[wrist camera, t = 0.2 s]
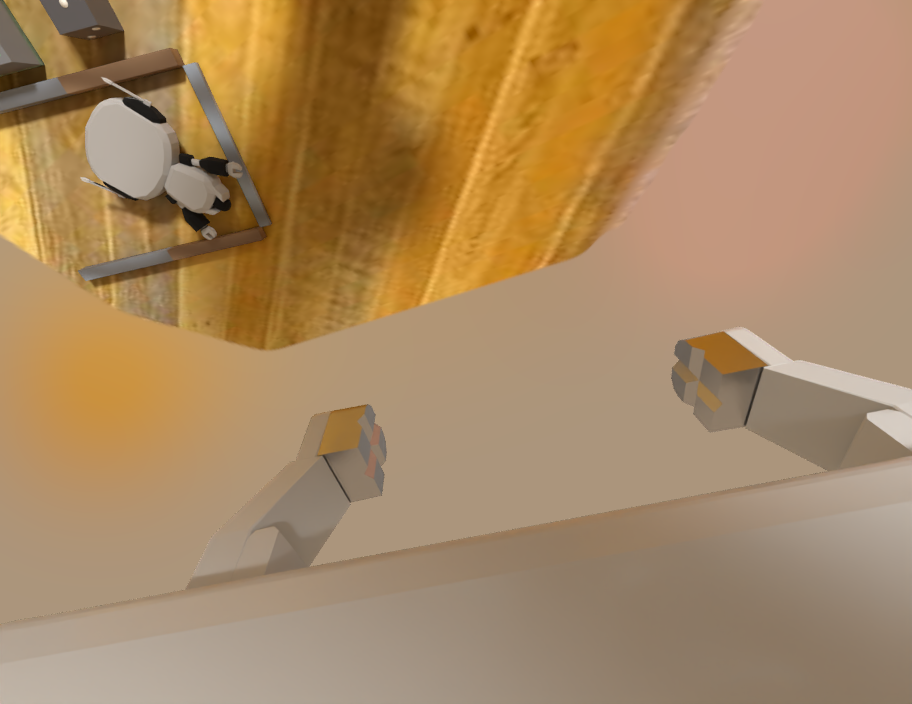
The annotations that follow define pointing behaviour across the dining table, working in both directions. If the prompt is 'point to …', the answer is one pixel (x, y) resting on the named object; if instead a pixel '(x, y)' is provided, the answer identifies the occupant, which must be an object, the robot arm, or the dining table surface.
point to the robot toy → (153, 160)
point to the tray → (14, 45)
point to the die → (83, 18)
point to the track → (173, 60)
